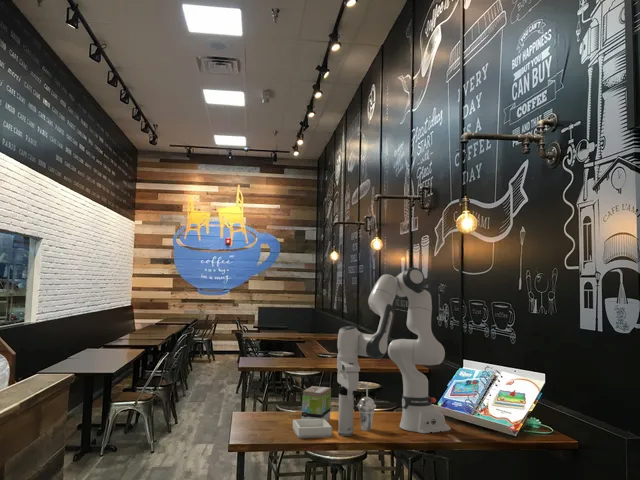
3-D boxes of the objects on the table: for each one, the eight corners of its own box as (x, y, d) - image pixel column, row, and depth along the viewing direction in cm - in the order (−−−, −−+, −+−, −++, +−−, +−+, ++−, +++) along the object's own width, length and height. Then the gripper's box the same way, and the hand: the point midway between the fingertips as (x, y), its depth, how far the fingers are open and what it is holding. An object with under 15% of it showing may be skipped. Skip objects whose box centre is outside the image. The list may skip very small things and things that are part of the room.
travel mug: (352, 437, 210) (353, 387, 212) (337, 435, 212) (338, 386, 214) (354, 433, 217) (355, 385, 219) (339, 431, 218) (340, 384, 220)
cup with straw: (367, 433, 217) (367, 385, 219) (351, 428, 224) (352, 382, 226) (379, 429, 223) (380, 383, 225) (364, 425, 230) (365, 380, 232)
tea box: (322, 426, 226) (322, 392, 228) (300, 424, 229) (301, 390, 231) (330, 418, 241) (331, 386, 242) (310, 416, 243) (311, 385, 245)
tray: (324, 428, 223) (324, 418, 224) (331, 437, 210) (331, 427, 210) (292, 429, 220) (292, 419, 221) (298, 438, 207) (298, 428, 207)
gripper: (334, 361, 227) (333, 392, 225) (346, 368, 207) (345, 403, 205) (347, 361, 228) (347, 392, 227) (361, 368, 208) (360, 402, 207)
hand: (346, 397), depth 216 cm, fingers closed on travel mug, 6 cm apart
